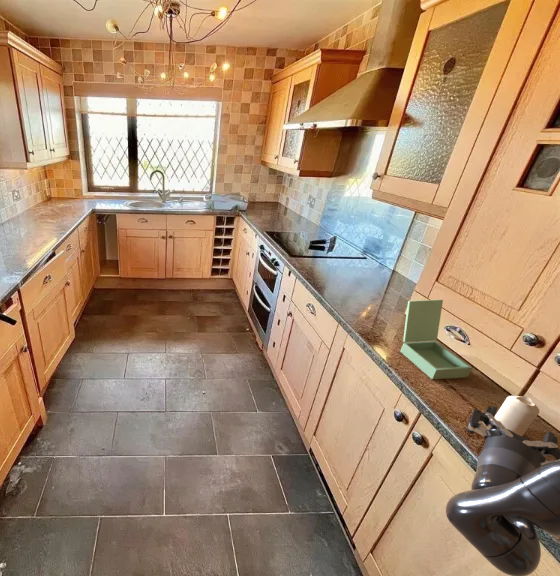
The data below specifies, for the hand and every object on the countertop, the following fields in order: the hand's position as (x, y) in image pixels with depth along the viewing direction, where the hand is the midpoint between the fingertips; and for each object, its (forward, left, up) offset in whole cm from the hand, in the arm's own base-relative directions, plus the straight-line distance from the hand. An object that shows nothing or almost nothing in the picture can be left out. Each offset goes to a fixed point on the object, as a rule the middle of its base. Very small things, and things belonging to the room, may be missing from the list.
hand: (519, 421), depth 67 cm
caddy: (+7, -31, -10) cm, 33 cm away
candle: (-4, -9, -10) cm, 14 cm away
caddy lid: (+11, -38, +1) cm, 39 cm away
